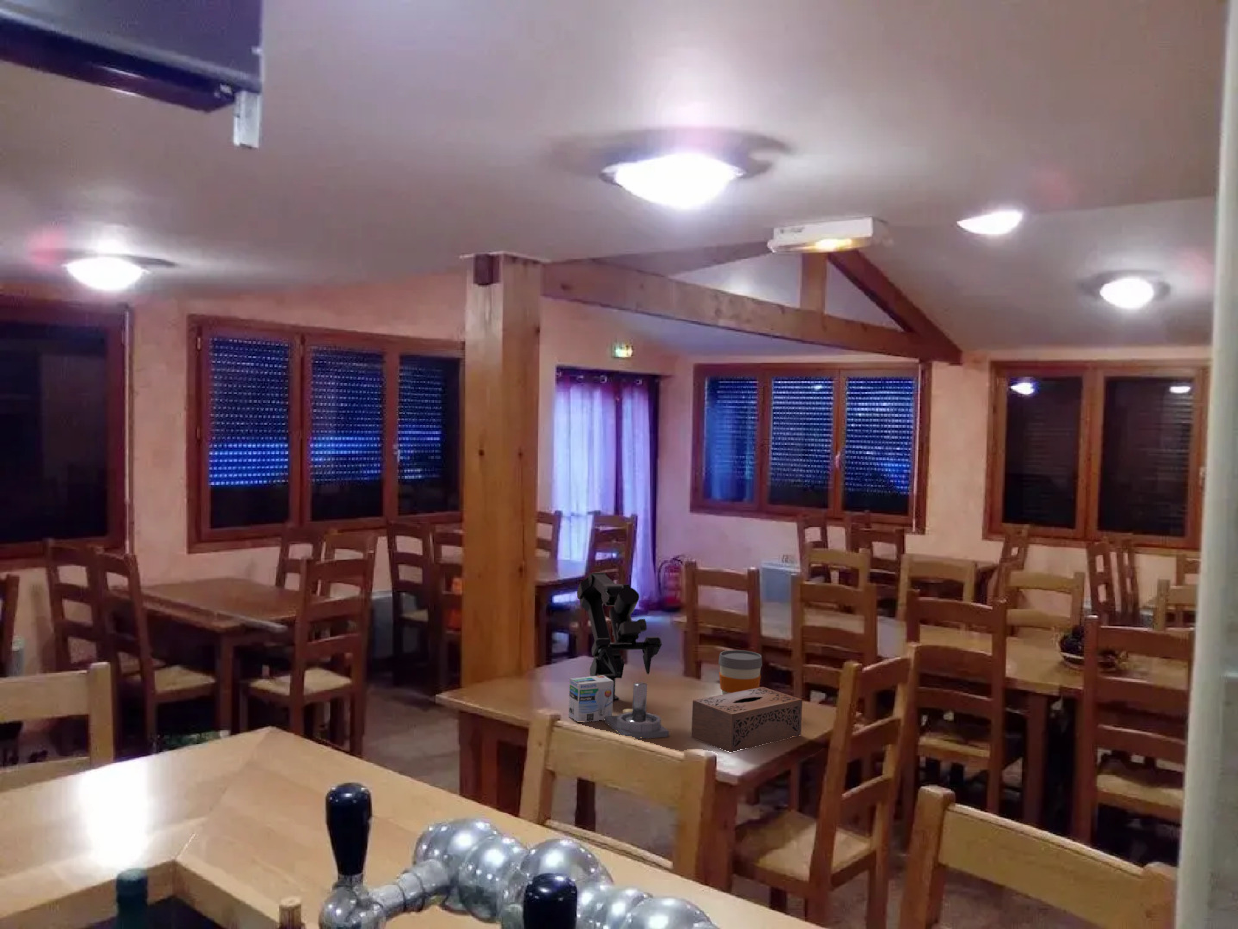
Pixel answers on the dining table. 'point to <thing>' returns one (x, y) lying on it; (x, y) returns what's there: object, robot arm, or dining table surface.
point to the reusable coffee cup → (739, 670)
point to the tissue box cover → (746, 718)
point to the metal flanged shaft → (639, 704)
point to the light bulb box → (590, 698)
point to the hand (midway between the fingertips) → (632, 674)
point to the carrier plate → (634, 734)
